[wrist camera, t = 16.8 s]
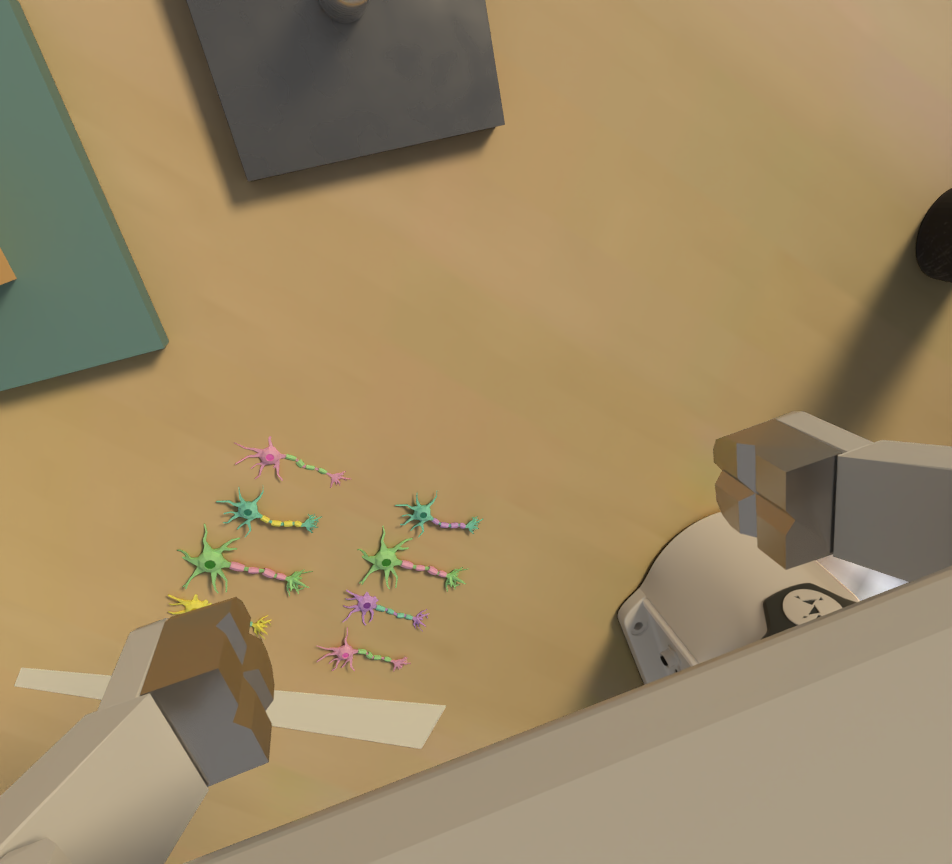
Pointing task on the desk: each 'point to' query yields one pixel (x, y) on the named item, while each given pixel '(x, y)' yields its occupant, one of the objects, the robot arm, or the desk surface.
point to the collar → (5, 270)
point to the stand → (346, 76)
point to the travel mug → (937, 240)
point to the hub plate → (58, 234)
